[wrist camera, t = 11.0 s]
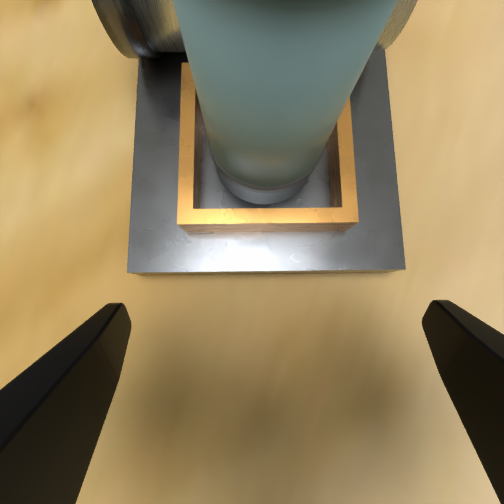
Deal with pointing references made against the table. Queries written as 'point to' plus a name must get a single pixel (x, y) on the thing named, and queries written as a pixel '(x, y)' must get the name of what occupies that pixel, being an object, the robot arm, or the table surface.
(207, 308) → the table surface
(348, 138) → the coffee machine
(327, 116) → the grey-capped teal cylinder
